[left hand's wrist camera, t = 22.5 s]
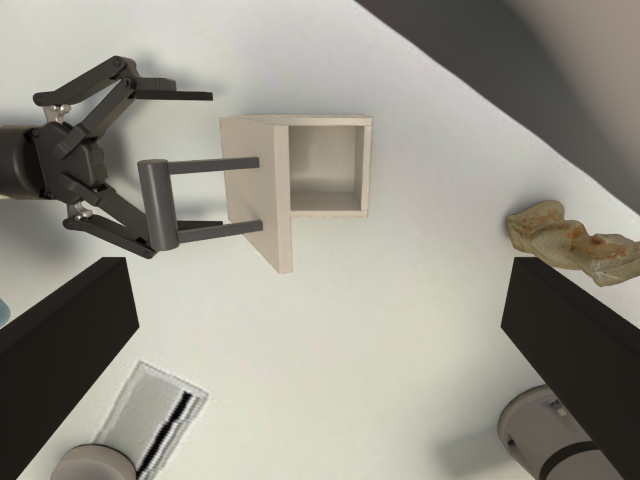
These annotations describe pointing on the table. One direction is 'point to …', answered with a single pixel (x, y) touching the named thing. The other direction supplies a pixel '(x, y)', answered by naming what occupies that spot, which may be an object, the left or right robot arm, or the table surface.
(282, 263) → the lid
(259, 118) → the chest
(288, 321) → the table surface
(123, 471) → the bust sculpture
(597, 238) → the sculpture
